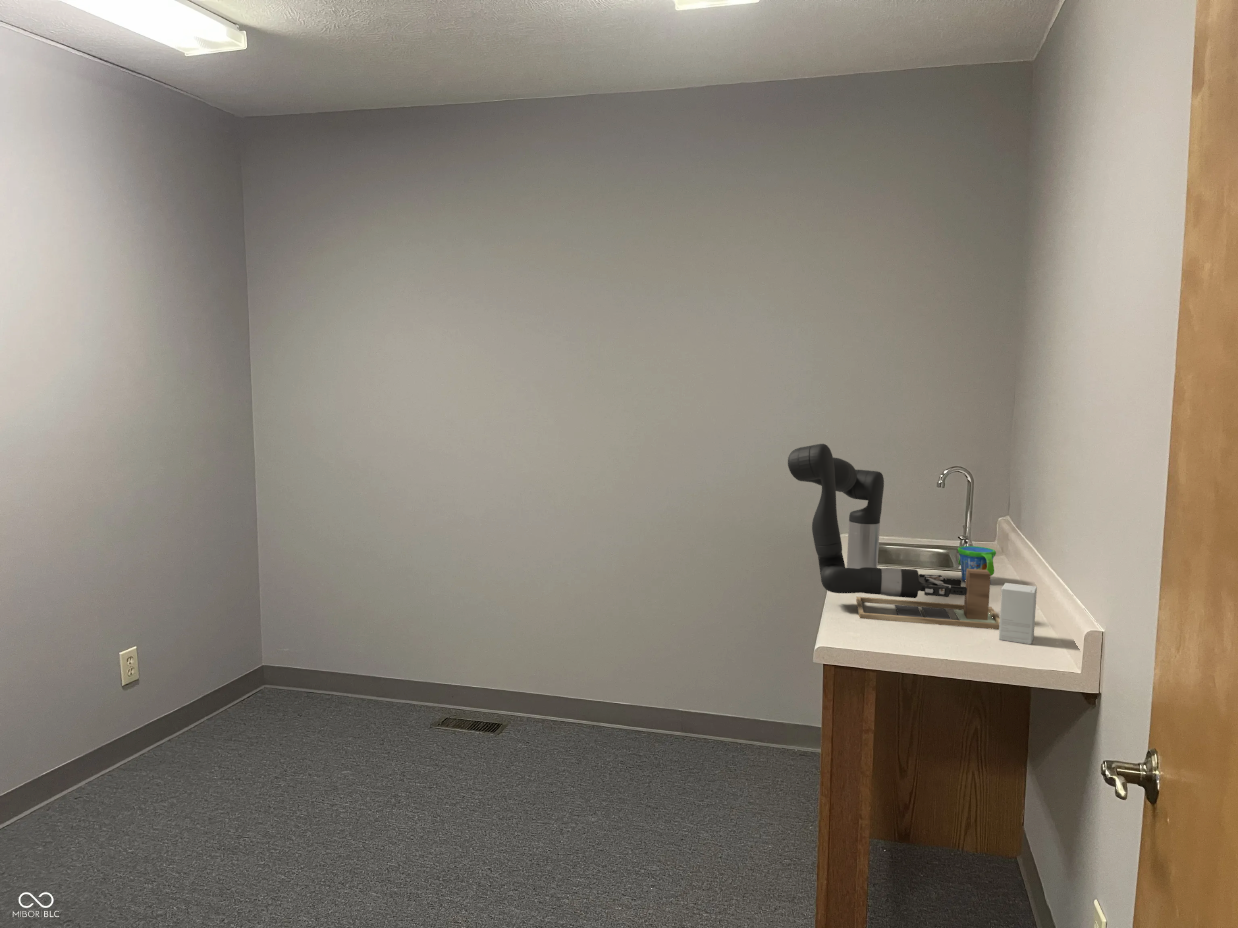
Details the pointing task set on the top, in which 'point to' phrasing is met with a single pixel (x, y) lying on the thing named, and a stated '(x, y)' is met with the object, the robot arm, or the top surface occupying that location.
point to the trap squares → (928, 612)
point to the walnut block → (977, 594)
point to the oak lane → (920, 619)
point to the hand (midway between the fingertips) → (963, 587)
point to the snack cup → (976, 559)
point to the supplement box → (1017, 613)
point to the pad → (962, 618)
